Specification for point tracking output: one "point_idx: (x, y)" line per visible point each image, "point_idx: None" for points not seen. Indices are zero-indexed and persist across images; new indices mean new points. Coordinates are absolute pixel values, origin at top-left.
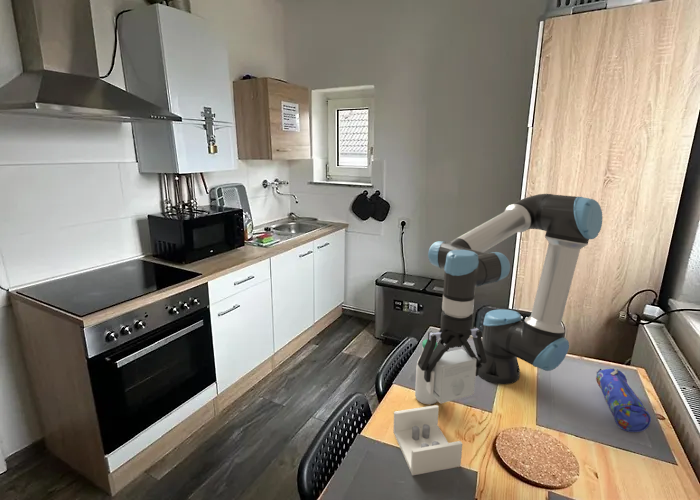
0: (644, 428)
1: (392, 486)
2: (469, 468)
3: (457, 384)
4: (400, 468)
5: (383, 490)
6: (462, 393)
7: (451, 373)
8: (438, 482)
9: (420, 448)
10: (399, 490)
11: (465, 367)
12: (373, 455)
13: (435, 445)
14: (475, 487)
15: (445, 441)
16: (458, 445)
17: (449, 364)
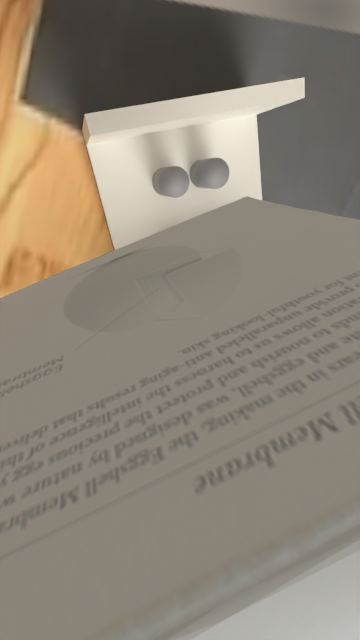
0: None
1: (313, 61)
2: (49, 118)
3: (149, 285)
4: (275, 135)
5: (340, 48)
6: (77, 276)
7: (330, 311)
8: (174, 60)
9: (272, 98)
10: (298, 41)
11: (48, 492)
12: (332, 191)
13: (208, 112)
14: (41, 15)
15: (119, 237)
16: (103, 112)
17: None
